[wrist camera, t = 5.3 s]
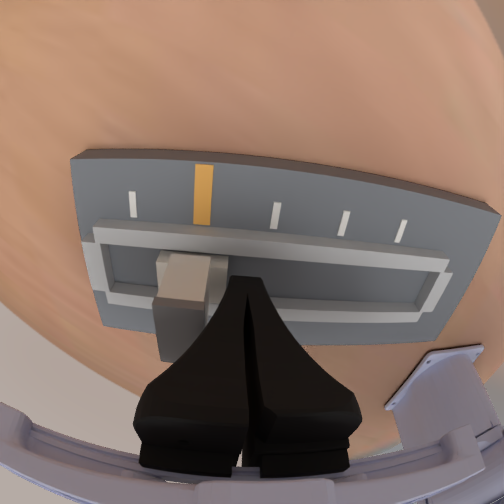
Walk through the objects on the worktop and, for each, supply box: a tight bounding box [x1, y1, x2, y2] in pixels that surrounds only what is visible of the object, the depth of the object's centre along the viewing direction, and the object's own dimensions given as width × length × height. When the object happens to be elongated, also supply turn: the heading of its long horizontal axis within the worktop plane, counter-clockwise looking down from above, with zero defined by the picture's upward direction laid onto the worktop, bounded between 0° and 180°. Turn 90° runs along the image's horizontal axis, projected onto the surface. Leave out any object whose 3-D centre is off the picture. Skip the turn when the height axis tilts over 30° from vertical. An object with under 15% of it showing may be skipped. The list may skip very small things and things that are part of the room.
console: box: [70, 149, 502, 345], centre depth 14 cm, size 10×22×2 cm, turn 84°
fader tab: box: [152, 250, 229, 363], centre depth 12 cm, size 3×3×4 cm
